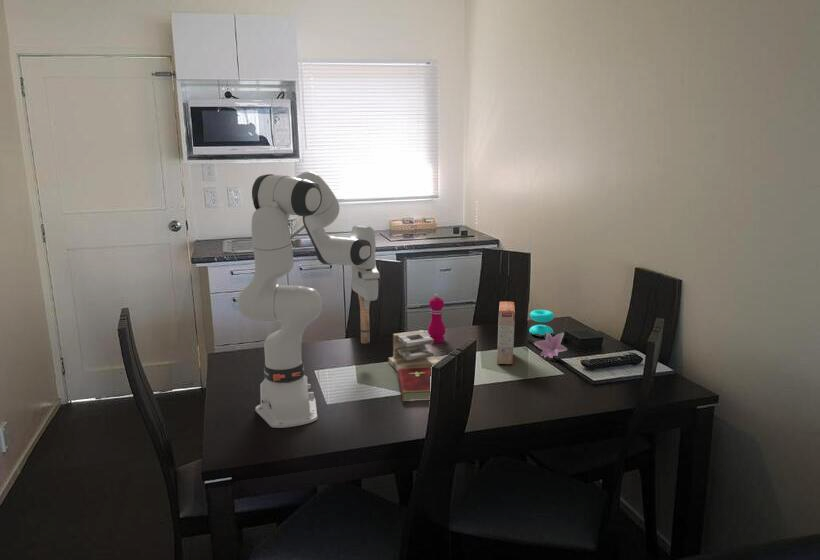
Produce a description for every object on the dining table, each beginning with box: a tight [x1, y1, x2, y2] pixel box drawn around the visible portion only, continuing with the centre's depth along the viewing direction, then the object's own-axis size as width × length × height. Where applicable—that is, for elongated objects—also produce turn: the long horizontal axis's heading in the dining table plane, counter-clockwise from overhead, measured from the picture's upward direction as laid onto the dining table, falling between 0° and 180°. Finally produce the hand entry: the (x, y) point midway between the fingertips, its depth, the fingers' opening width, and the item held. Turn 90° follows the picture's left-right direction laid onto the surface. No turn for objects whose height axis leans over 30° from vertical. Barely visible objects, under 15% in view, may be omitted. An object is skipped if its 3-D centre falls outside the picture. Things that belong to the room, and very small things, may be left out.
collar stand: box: [387, 329, 440, 372], centre depth 230 cm, size 14×16×11 cm
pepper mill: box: [427, 293, 446, 344], centre depth 257 cm, size 7×7×20 cm
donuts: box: [529, 309, 555, 335], centre depth 265 cm, size 10×10×10 cm
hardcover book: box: [397, 367, 431, 402], centre depth 210 cm, size 12×21×4 cm, turn 5°
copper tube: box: [359, 295, 371, 344], centre depth 230 cm, size 3×3×18 cm
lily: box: [533, 332, 568, 359], centre depth 238 cm, size 12×12×10 cm
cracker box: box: [496, 301, 516, 365], centre depth 235 cm, size 14×6×21 cm, turn 171°
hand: (364, 307), depth 229 cm, fingers closed on copper tube, 3 cm apart
